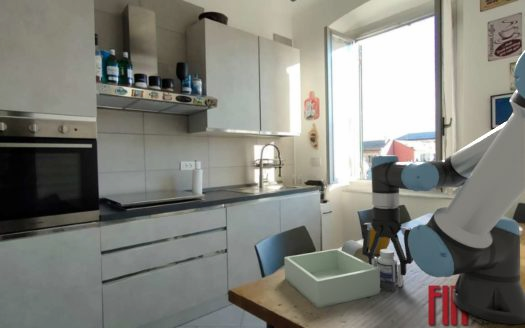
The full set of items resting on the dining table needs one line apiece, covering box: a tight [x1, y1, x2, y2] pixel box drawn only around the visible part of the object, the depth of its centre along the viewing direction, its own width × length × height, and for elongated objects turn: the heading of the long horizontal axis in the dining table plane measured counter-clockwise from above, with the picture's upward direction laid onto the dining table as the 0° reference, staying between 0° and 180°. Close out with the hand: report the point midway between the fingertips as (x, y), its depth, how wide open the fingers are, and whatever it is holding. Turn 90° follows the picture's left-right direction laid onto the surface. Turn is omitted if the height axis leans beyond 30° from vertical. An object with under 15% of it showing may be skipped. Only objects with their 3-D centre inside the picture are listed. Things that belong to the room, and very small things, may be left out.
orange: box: [369, 227, 391, 256], centre depth 113 cm, size 10×10×12 cm
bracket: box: [380, 271, 398, 293], centre depth 87 cm, size 11×6×3 cm, turn 140°
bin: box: [283, 248, 381, 310], centre depth 86 cm, size 20×20×7 cm
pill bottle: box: [377, 248, 398, 286], centre depth 87 cm, size 5×5×10 cm
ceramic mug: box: [340, 239, 369, 264], centre depth 103 cm, size 11×8×8 cm
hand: (387, 281), depth 87 cm, fingers open, 7 cm apart
